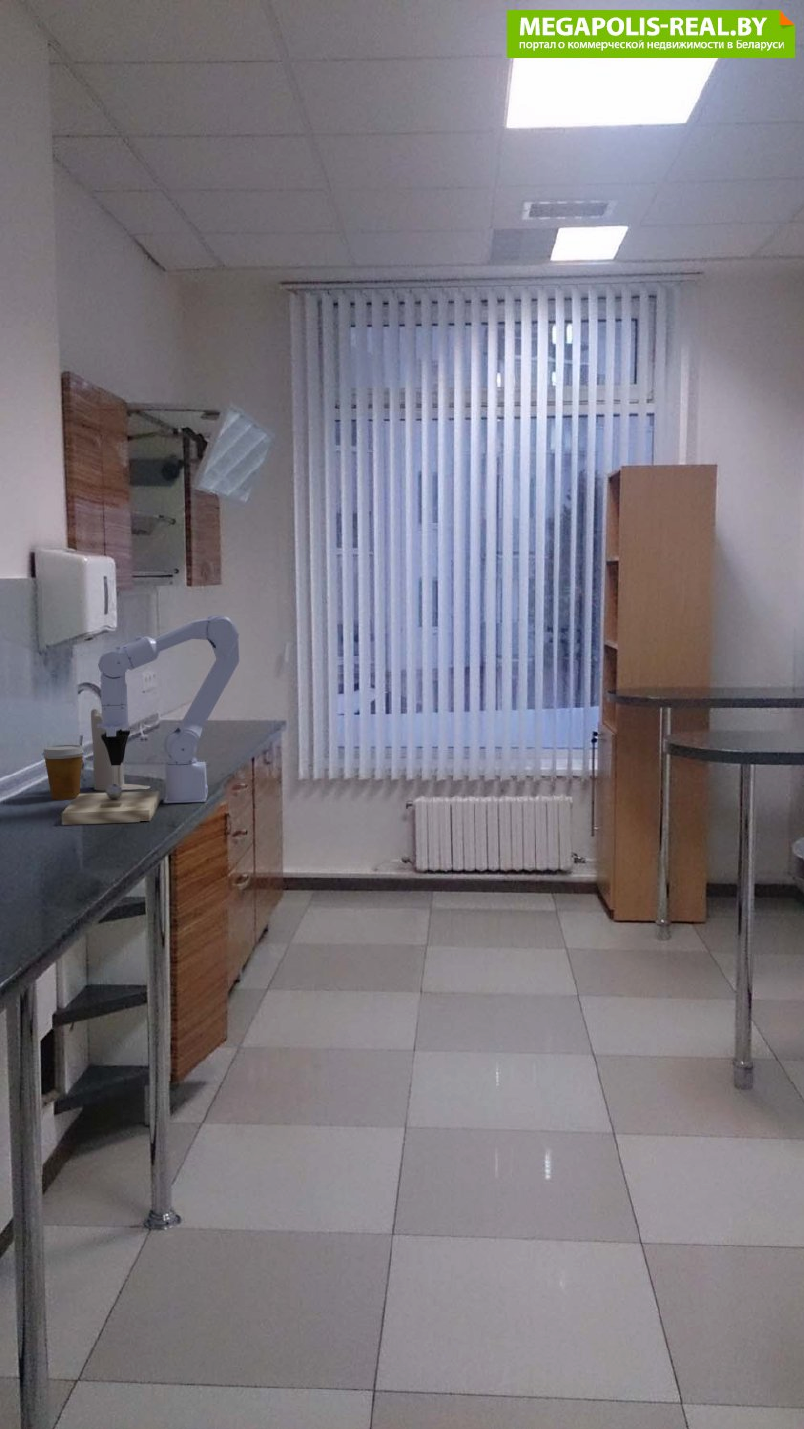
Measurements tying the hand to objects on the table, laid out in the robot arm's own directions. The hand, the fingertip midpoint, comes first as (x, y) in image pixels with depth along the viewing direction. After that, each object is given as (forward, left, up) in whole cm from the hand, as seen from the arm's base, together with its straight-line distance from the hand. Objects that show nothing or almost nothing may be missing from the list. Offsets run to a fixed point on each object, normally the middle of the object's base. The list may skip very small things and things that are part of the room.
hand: (117, 764), depth 258 cm
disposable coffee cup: (+14, -12, -10) cm, 21 cm away
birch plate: (0, +9, -9) cm, 13 cm away
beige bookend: (+2, -22, -10) cm, 24 cm away
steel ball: (0, +6, -5) cm, 8 cm away
